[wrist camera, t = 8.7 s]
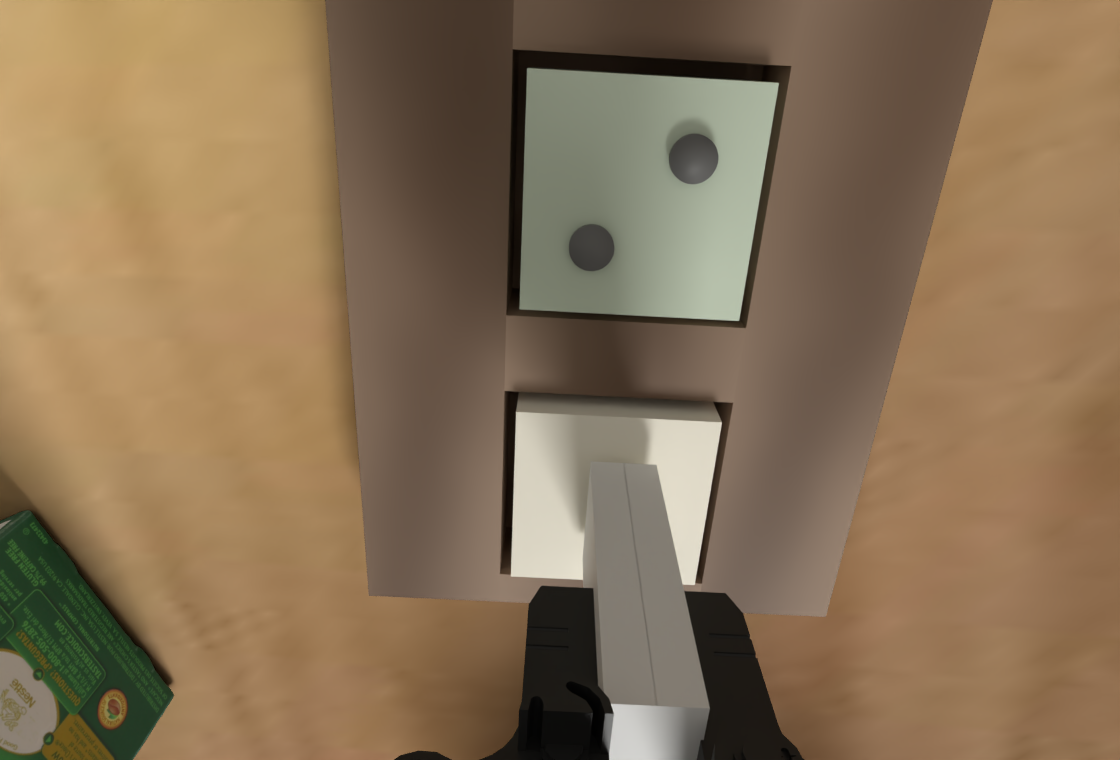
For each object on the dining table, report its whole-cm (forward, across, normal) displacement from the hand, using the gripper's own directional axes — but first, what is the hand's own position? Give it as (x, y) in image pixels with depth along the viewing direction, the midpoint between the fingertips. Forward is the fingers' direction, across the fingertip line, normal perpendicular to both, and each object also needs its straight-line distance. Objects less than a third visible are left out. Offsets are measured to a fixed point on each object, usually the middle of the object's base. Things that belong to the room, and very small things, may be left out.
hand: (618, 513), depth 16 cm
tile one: (+3, 0, 0) cm, 3 cm away
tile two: (+3, 0, +7) cm, 8 cm away
